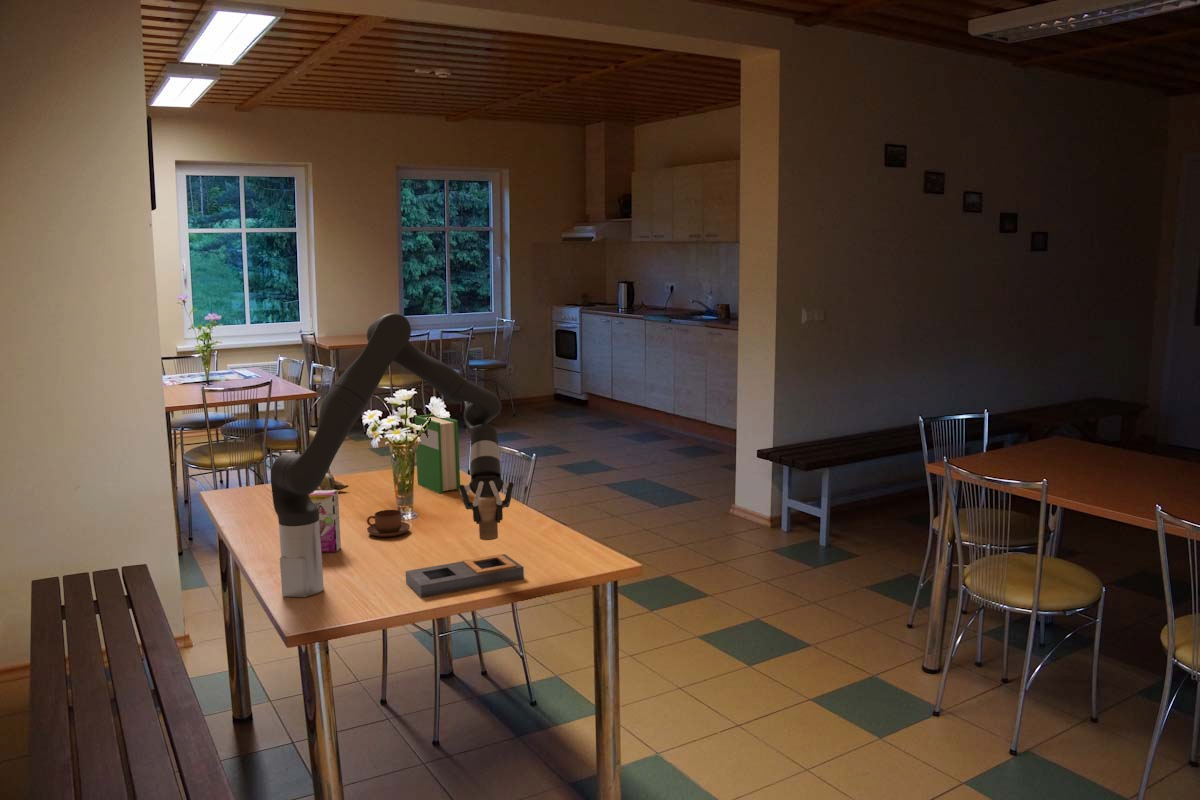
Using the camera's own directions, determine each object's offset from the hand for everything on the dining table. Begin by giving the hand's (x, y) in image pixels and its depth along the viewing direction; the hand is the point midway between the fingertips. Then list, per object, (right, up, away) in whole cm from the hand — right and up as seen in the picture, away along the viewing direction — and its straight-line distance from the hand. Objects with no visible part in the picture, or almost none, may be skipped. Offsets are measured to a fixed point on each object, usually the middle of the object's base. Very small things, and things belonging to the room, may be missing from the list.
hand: (488, 521), depth 236 cm
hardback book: (-28, -1, +97) cm, 101 cm away
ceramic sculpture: (-66, -2, +91) cm, 113 cm away
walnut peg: (0, -4, +3) cm, 5 cm away
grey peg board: (-6, -15, +1) cm, 16 cm away
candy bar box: (-49, -12, +27) cm, 57 cm away
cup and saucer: (-34, -9, +43) cm, 55 cm away
